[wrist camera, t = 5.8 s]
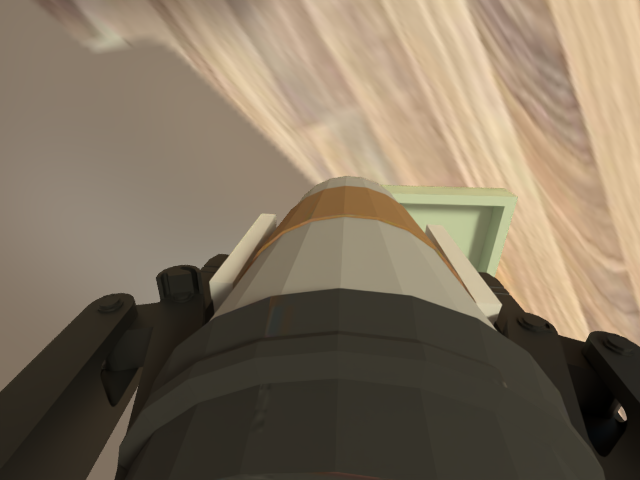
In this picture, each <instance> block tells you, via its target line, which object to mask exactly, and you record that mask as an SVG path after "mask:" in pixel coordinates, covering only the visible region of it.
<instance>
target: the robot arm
mask: <svg viewBox="0 0 640 480" xmlns="http://www.w3.org/2000/svg"><path fill="white" fill-rule="evenodd" d="M275 230H276V215H274V214H261V215H260V216H259V218H258V219H257V220H256V222H255V223H254V224H253V225H252V227H251V228H250V229H249V231H248V232H247V233H246V234H245V236H244V237H243V238H242V240H241V241H240V242H239V244H238V245H237V246H236V248H235V249H234V250H233V251H232V253H231V254H230V255H226V254H218V255H217V256H215V257H213V258H211V259H209V261H208V262H207V263H206V264H205V265H204V267H202V269H201V270H200V269H199V268H197V267H195V266H190V265H179V266H174V267H170V268H168V269H165V270H163V271H162V272H160V273H159V274H158V275H157V277H156V280H157V285H158V290H159V295H160V299H161V300H160V302H158V303H151V304H143V305H136V304H135V300H134V297H133V296H131V295H130V294H124V293H118V294H110V295H106V296H103V297H102V298H99V299H97V300H95V301H94V302H92V303H91V304H90V305H88V306H87V307H86V308H85V309H84V310H83V311H82V312H81V313H80V314H79V315H78V316H77V317H76V318H75V319H74V320H73V321H72V322H71V323H70V324H69V325H68V326H67V327H66V328H65V329H64V330H63V331H62V332H61V333H60V334H59V335H58V336H57V337H56V338H55V339H54V340H53V341H52V342H51V343H50V344H49V345H48V346H46V347H45V348H44V350H42V352H40V353H39V354H38V355H37V356H36V357H35V358H34V359H33V360H32V361H31V362H30V363H29V364H28V365H27V366H26V367H25V368H24V369H23V370H22V371H21V372H20V373H19V374H18V375H17V376H16V377H15V378H14V379H13V380H12V381H11V382H10V383H9V384H8V385H7V386H6V387H5V388H4V389H3V390H2V391H1V392H0V480H86V478H87V477H88V475H89V473H90V471H91V469H92V468H93V466H94V464H95V462H96V461H97V459H98V457H99V455H100V453H101V451H102V450H103V448H104V446H105V444H106V443H107V440H108V439H109V437H110V435H111V433H112V432H113V430H114V428H115V426H116V424H117V423H118V421H119V419H120V417H121V416H122V414H123V412H124V410H125V408H126V407H127V405H128V403H129V401H130V399H131V398H132V396H133V394H134V392H135V391H136V388H137V387H138V389H137V393H136V398H135V401H134V405H133V409H132V413H131V417H130V421H129V425H128V429H127V432H128V430H129V428H130V427H131V425H132V424H133V422H134V421H135V419H136V418H137V416H138V414H139V413H140V411H141V410H142V408H143V407H144V405H145V403H146V402H147V400H148V397H149V394H150V391H151V388H152V386H153V383H154V381H155V379H156V378H157V376H158V374H159V373H160V371H161V370H162V368H163V366H164V365H165V363H166V362H167V360H168V358H169V357H170V355H171V354H172V352H173V350H174V349H175V347H177V346H178V345H179V344H181V343H182V342H183V341H184V340H186V339H187V338H188V337H190V336H191V335H192V334H194V333H195V332H196V331H198V330H199V329H200V328H201V327H203V326H204V325H205V324H207V323H208V322H209V321H210V320H211V318H212V317H213V316H214V314H215V313H216V312H217V310H218V309H219V308H220V306H221V305H222V304H223V302H224V301H225V300H226V298H227V297H228V296H229V294H230V293H231V292H232V290H233V289H234V288H235V287H236V285H237V284H238V281H239V279H240V277H241V276H242V274H243V273H244V272H245V270H246V269H247V267H248V266H249V264H250V263H251V261H252V260H253V258H254V257H255V256H256V254H257V253H258V251H259V250H260V249H261V247H262V246H263V245H264V244H265V242H266V241H267V240H268V238H269V237H270V236H271V235H272V233H273V232H274V231H275ZM425 234H426V235H427V237H428V238H429V239H430V240H431V242H432V243H433V244H434V245H435V247H436V248H437V249H438V250H439V252H440V253H441V254H442V255H443V257H444V258H445V259H446V260H447V262H448V263H449V264H450V266H451V267H452V268H453V269H454V271H455V272H456V273H457V274H458V276H459V277H460V279H461V281H462V283H463V286H464V288H465V290H466V291H467V293H468V294H469V295H470V297H471V298H472V299H473V300H474V302H475V303H476V304H477V306H478V307H479V308H480V309H481V311H482V312H483V313H484V315H485V316H486V317H487V319H488V320H489V321H490V322H491V324H492V325H493V326H494V328H495V329H496V330H497V331H498V332H499V333H501V334H502V335H504V336H505V337H506V338H508V339H509V340H511V341H512V342H514V343H515V344H517V345H518V346H520V347H521V348H523V349H524V350H526V351H527V352H529V353H530V355H531V356H532V357H533V359H534V360H535V361H536V362H537V364H538V365H539V366H540V368H541V369H542V370H543V371H544V373H545V374H546V375H547V377H548V378H549V379H550V380H551V382H552V383H553V384H554V386H555V387H556V388H557V389H558V391H559V392H560V394H561V397H562V400H563V402H564V405H565V408H566V411H567V413H568V416H569V419H570V422H571V424H572V426H573V427H574V428H575V430H576V431H577V432H578V433H579V435H580V436H581V437H582V438H583V440H584V441H585V442H586V443H587V445H588V446H589V447H590V448H591V450H592V451H593V453H594V455H595V457H596V458H597V460H598V462H599V464H600V465H601V467H602V469H603V471H604V476H605V480H640V347H639V346H638V345H636V344H635V343H633V342H631V341H629V340H628V339H627V338H624V337H622V336H620V335H617V334H612V333H608V332H603V331H594V332H591V333H590V334H589V336H588V338H587V340H586V342H582V341H579V340H575V339H571V338H567V337H564V336H560V335H558V332H557V331H556V329H555V327H554V326H553V325H552V324H550V323H549V322H548V321H546V320H545V319H543V318H541V317H539V316H536V315H534V314H531V313H526V312H524V310H523V309H522V308H521V307H520V306H519V304H518V303H517V302H516V301H515V300H514V299H513V297H512V296H511V295H509V293H508V291H507V290H506V289H504V287H503V285H502V284H501V283H500V282H499V281H498V279H496V278H495V277H493V276H491V275H490V274H488V273H486V272H477V271H476V269H475V268H474V267H473V265H472V264H471V263H470V261H469V260H468V259H467V258H466V256H465V255H464V254H463V252H462V251H461V250H460V248H459V247H458V246H457V244H456V243H455V242H454V240H453V239H452V238H451V236H450V235H449V234H448V232H447V231H446V230H445V228H444V227H443V226H442V225H430V224H427V225H426V230H425ZM138 385H139V386H138ZM621 406H622V407H623V409H624V411H625V413H626V416H627V420H626V421H624V420H623V419H622V417H621V416H620V415H619V413H618V410H619V409H620V407H621ZM126 434H127V433H126ZM128 472H129V471H128V470H126V469H125V468H124V467H122V466H121V465H120V464H118V468H117V472H116V476H115V480H125V478H126V476H127V474H128Z"/></svg>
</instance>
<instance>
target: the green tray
mask: <svg viewBox="0 0 640 480" xmlns="http://www.w3.org/2000/svg"><path fill="white" fill-rule="evenodd" d="M381 186H382V187H383V188H385V189H386V190H388V191H389V192H390V193H391V194H392V195H393V197H394V198H395V199H396V201H397V202H398V203H399V204H401V205H402V206H403V207H404V208H405V209H406V210H407V212H408V213H409V214H410V215H411V217H412V218H413V219H414V220H415V222H416V223H417V224H418V225H419V227H420V228H421V229H422V230H423V232H424V233H425V230H426V225H427V224H430V225H442V226H443V227H444V228H445V230H446V231H447V232H448V234H449V235H450V236H451V238H452V239H453V240H454V242H455V243H456V244H457V246H458V247H459V248H460V250H461V251H462V252H463V254H464V255H465V256H466V258H467V259H468V260H469V261H470V263H471V264H472V265H473V267H474V268H475V269H476V271H477V272H486V273H488V274H490V275H491V276H493V277H495V274H496V271H497V267H498V264H499V260H500V257H501V253H502V250H503V247H504V243H505V240H506V236H507V233H508V229H509V226H510V222H511V219H512V216H513V212H514V209H515V205H516V202H517V198H518V197H517V196H516V195H514V194H512V193H511V192H509V191H508V190H506V189H504V188H467V187H429V186H390V185H381Z"/></svg>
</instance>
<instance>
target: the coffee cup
mask: <svg viewBox="0 0 640 480" xmlns="http://www.w3.org/2000/svg"><path fill="white" fill-rule="evenodd" d="M118 464H120V465H121V466H122V467H124V468H125V469H126V470H128V471H129V472H128V474H127V476H126V478H125V480H605V476H604V471H603V469H602V467H601V465H600V464H599V462H598V460H597V458H596V457H595V455H594V453H593V451H592V450H591V448H590V447H589V446H588V445H587V443H586V442H585V441H584V440H583V438H582V437H581V436H580V435H579V433H578V432H577V431H576V430H575V428H574V427H573V426H572V424H571V422H570V419H569V416H568V413H567V411H566V408H565V405H564V402H563V400H562V397H561V394H560V392H559V391H558V389H557V388H556V387H555V386H554V384H553V383H552V382H551V380H550V379H549V378H548V377H547V375H546V374H545V373H544V371H543V370H542V369H541V368H540V366H539V365H538V364H537V362H536V361H535V360H534V359H533V357H532V356H531V355H530V353H529V352H527V351H526V350H524V349H523V348H521V347H520V346H518V345H517V344H515V343H514V342H512V341H511V340H509V339H508V338H506V337H505V336H504V335H502V334H501V333H499V332H498V331H497V330H496V329H495V328H494V326H493V325H492V324H491V322H490V321H489V320H488V319H487V317H486V316H485V315H484V313H483V312H482V311H481V309H480V308H479V307H478V306H477V304H476V303H475V302H474V300H473V299H472V298H471V297H470V295H469V294H468V293H467V291H466V290H465V288H464V286H463V283H462V281H461V279H460V277H459V276H458V274H457V273H456V272H455V271H454V269H453V268H452V267H451V266H450V264H449V263H448V262H447V260H446V259H445V258H444V257H443V255H442V254H441V253H440V252H439V250H438V249H437V248H436V247H435V245H434V244H433V243H432V242H431V240H430V239H429V238H428V237H427V235H426V234H425V233H424V232H423V230H422V229H421V228H420V227H419V225H418V224H417V223H416V222H415V220H414V219H413V218H412V217H411V215H410V214H409V213H408V212H407V210H406V209H405V208H404V207H403V206H402V205H401V204H399V203H398V202H397V201H396V199H395V198H394V197H393V195H392V194H391V193H390V192H389V191H388V190H386V189H385V188H383V187H382V186H381V185H379V184H378V183H376V182H373V181H370V180H368V179H365V178H362V177H351V176H344V177H338V178H332V179H329V180H327V181H325V182H322V183H320V184H318V185H316V186H315V187H314V188H312V189H311V190H310V191H309V192H308V193H306V194H305V195H304V197H303V198H302V199H301V201H300V202H299V203H298V204H297V205H296V206H295V207H294V208H293V209H291V211H290V212H289V213H288V214H287V216H286V217H285V218H284V220H283V221H282V222H281V223H280V225H279V226H278V227H277V228H276V230H275V231H274V232H273V233H272V235H271V236H270V237H269V238H268V240H267V241H266V242H265V244H264V245H263V246H262V247H261V249H260V250H259V251H258V253H257V254H256V256H255V257H254V258H253V260H252V261H251V263H250V264H249V266H248V267H247V269H246V270H245V272H244V273H243V274H242V276H241V277H240V279H239V281H238V284H237V285H236V287H235V288H234V289H233V290H232V292H231V293H230V294H229V296H228V297H227V298H226V300H225V301H224V302H223V304H222V305H221V306H220V308H219V309H218V310H217V312H216V313H215V314H214V316H213V317H212V318H211V320H210V321H209V322H208V323H207V324H205V325H204V326H203V327H201V328H200V329H199V330H198V331H196V332H195V333H194V334H192V335H191V336H190V337H188V338H187V339H186V340H184V341H183V342H182V343H181V344H179V345H178V346H177V347H175V349H174V350H173V352H172V354H171V355H170V357H169V358H168V360H167V362H166V363H165V365H164V366H163V368H162V370H161V371H160V373H159V374H158V376H157V378H156V379H155V381H154V383H153V386H152V388H151V391H150V394H149V397H148V400H147V402H146V403H145V405H144V407H143V408H142V410H141V411H140V413H139V414H138V416H137V418H136V419H135V421H134V422H133V424H132V425H131V427H130V428H129V430H128V432H127V434H126V436H125V437H124V439H123V441H122V443H121V445H120V447H119V457H118ZM117 468H118V467H117Z"/></svg>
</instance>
